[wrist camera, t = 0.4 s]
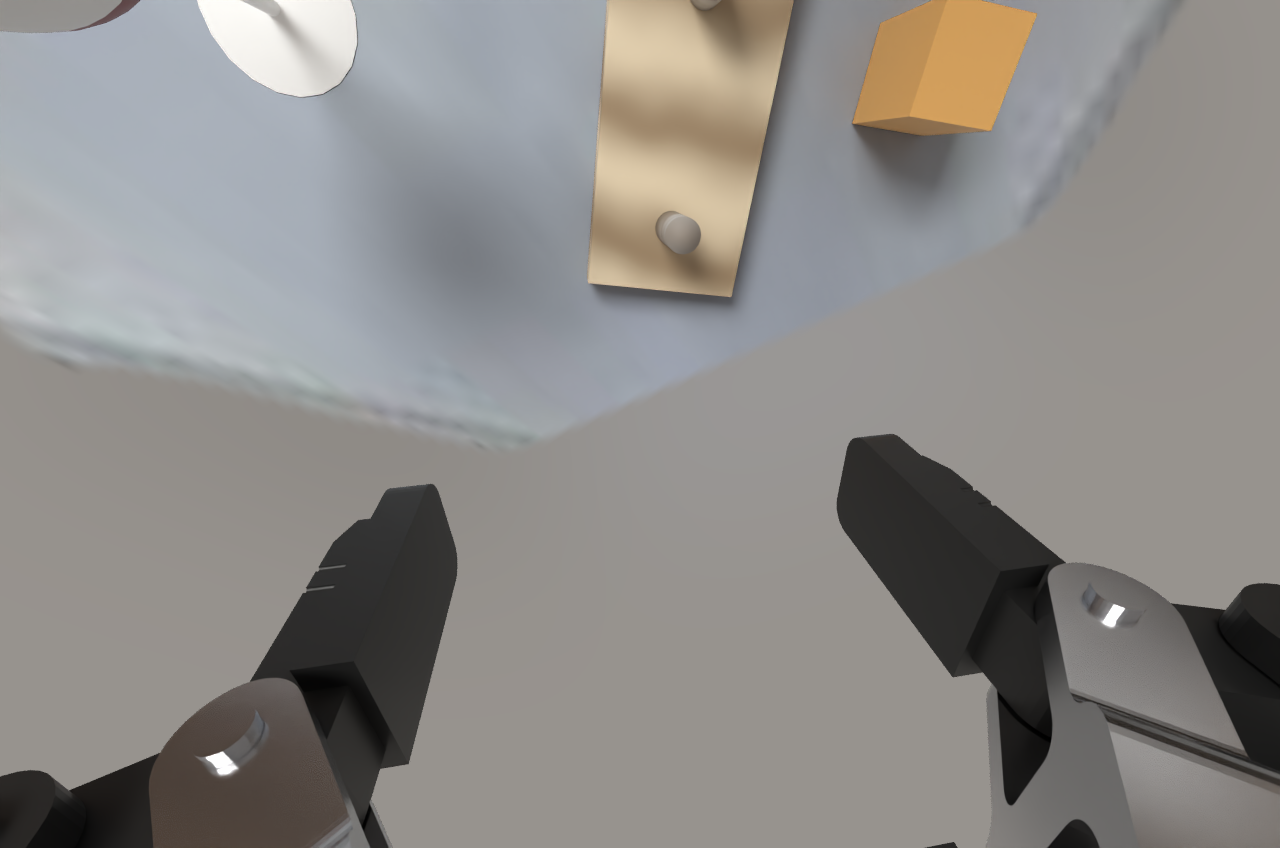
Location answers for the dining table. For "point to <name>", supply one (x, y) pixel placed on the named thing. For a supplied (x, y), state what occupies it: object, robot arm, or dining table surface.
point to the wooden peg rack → (681, 139)
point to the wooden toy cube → (943, 67)
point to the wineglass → (232, 34)
